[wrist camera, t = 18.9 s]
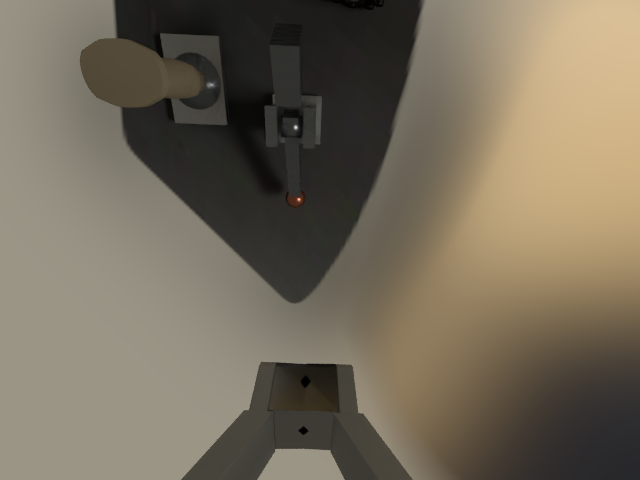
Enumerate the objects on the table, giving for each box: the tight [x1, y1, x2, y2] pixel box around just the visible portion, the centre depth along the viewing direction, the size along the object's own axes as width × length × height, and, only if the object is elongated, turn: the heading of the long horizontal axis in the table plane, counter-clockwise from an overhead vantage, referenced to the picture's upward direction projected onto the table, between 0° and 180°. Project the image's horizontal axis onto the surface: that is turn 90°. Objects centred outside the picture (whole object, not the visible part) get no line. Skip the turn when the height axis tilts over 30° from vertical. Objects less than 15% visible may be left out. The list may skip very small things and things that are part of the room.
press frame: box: [160, 33, 322, 149], centre depth 34 cm, size 12×20×11 cm, turn 88°
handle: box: [80, 38, 206, 107], centre depth 30 cm, size 5×6×15 cm
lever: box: [270, 23, 305, 208], centre depth 34 cm, size 22×3×4 cm, turn 179°
